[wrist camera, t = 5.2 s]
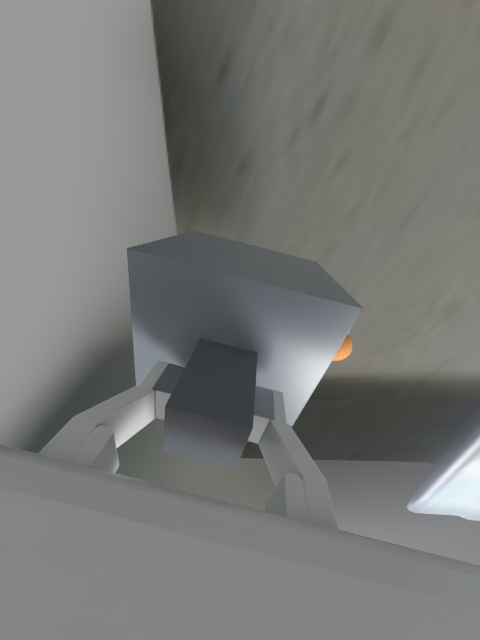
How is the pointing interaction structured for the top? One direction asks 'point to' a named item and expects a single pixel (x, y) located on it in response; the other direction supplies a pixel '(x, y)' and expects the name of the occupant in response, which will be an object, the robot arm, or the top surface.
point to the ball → (344, 349)
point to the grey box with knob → (231, 334)
